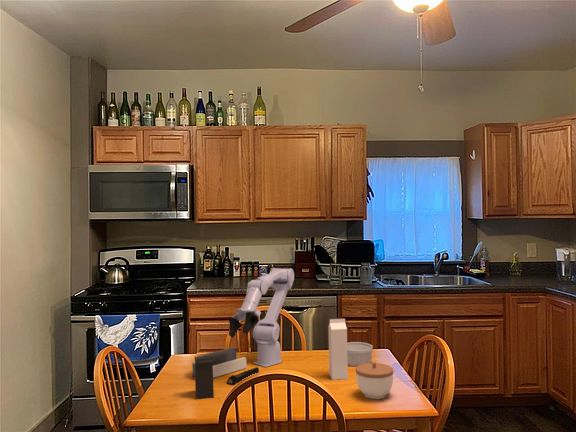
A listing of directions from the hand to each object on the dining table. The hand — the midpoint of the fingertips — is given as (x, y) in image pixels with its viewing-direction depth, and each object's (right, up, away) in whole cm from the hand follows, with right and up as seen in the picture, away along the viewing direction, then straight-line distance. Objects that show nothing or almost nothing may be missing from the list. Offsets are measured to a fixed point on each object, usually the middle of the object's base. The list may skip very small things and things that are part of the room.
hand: (237, 334), depth 183 cm
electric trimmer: (+2, -18, +3) cm, 19 cm away
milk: (+38, -17, +4) cm, 42 cm away
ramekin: (+47, -17, +21) cm, 54 cm away
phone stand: (-10, -18, -12) cm, 24 cm away
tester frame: (-9, -18, +12) cm, 23 cm away
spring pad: (-6, -18, +9) cm, 21 cm away
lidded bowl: (+48, -17, -16) cm, 53 cm away
